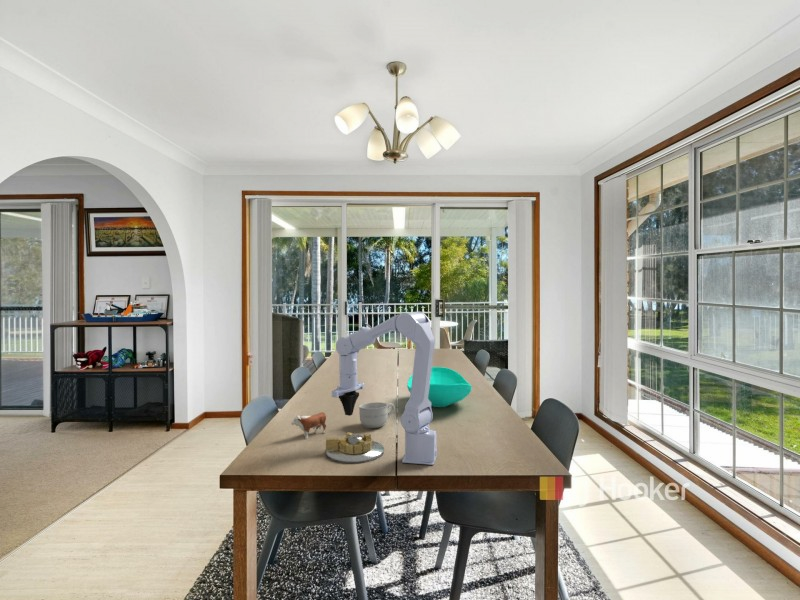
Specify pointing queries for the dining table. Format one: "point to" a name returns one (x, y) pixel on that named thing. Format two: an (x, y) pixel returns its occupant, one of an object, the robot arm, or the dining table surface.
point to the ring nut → (347, 448)
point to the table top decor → (445, 387)
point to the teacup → (374, 414)
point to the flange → (356, 458)
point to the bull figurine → (310, 422)
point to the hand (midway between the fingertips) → (348, 414)
